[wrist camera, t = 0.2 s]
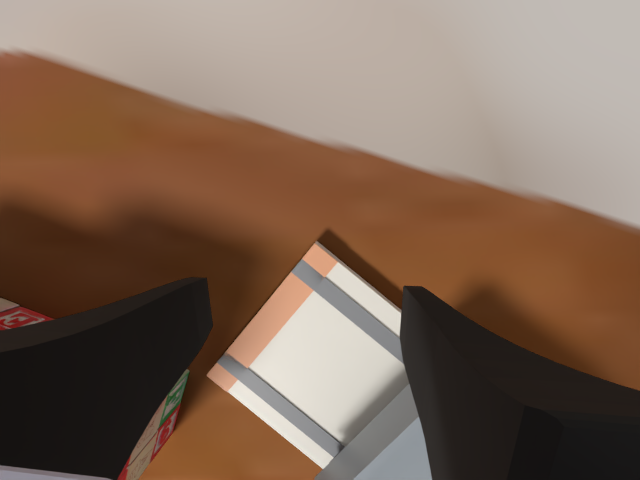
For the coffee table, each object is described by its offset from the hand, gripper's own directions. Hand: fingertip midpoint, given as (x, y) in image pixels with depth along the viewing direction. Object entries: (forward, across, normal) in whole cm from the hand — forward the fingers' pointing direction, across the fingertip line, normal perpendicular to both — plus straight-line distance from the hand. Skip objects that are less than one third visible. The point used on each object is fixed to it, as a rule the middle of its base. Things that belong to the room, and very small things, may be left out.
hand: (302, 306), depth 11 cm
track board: (+9, -4, +13) cm, 16 cm away
